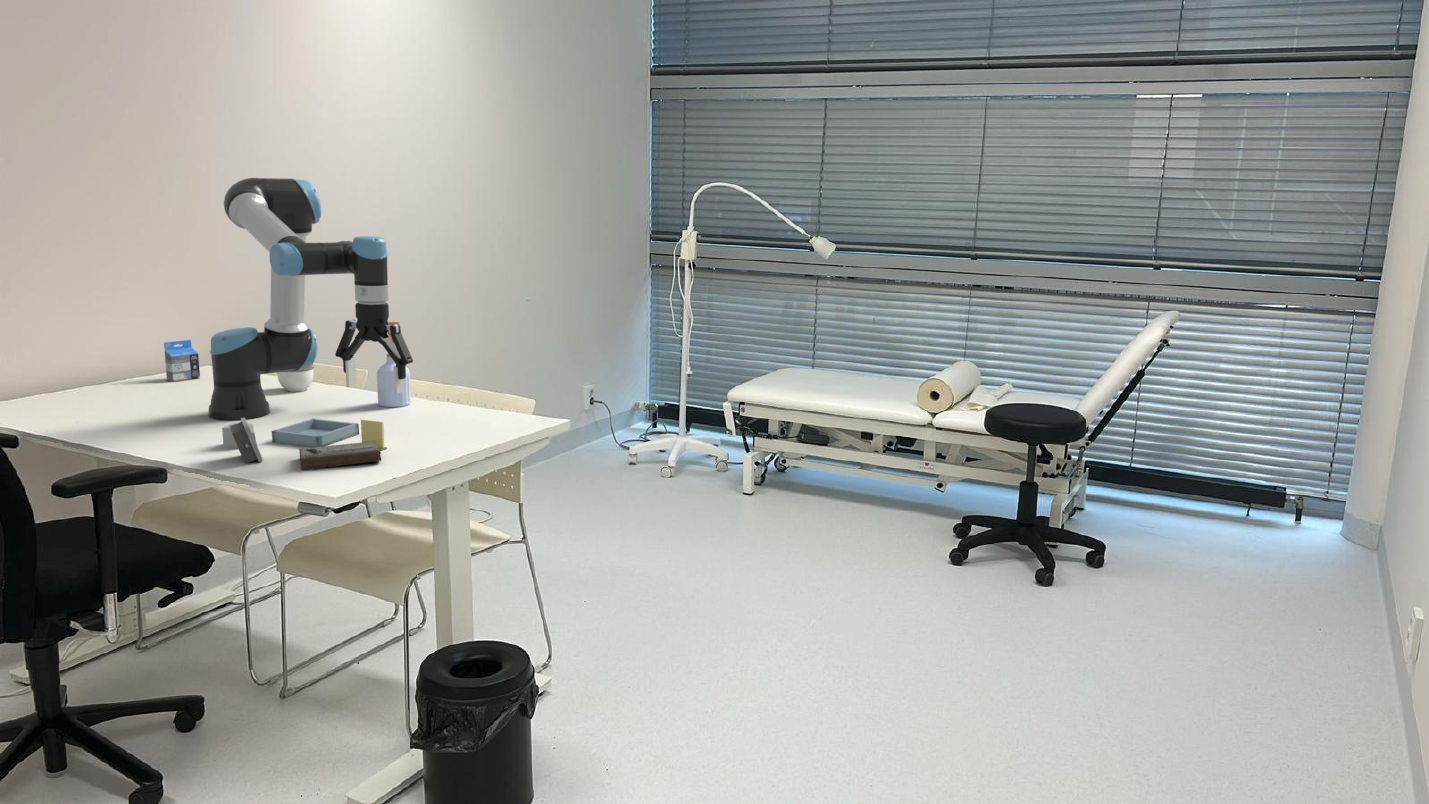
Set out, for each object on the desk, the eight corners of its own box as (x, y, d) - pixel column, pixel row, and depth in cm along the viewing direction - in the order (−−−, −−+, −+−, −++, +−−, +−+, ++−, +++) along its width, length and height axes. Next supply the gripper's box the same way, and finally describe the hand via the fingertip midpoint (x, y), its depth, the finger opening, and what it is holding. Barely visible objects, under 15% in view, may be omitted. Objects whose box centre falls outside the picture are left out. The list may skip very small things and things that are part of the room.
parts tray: (272, 442, 239) (271, 431, 238) (313, 428, 253) (313, 418, 253) (319, 447, 235) (319, 436, 235) (359, 434, 249) (358, 423, 249)
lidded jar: (270, 389, 299) (268, 360, 297) (302, 385, 307) (300, 356, 305) (290, 394, 293) (288, 364, 291) (322, 389, 301) (320, 360, 299)
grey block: (223, 447, 233) (222, 427, 232) (234, 442, 238) (233, 422, 237) (243, 448, 233) (242, 428, 232) (254, 443, 238) (253, 423, 237)
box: (381, 463, 223) (381, 450, 223) (300, 471, 216) (299, 458, 216) (377, 452, 233) (376, 440, 232) (300, 460, 226) (298, 447, 225)
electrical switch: (263, 463, 221) (256, 424, 219) (238, 467, 219) (231, 428, 217) (259, 453, 229) (252, 415, 227) (235, 457, 227) (228, 419, 225)
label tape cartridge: (173, 382, 305) (169, 343, 303) (166, 380, 307) (162, 342, 305) (200, 378, 313) (197, 340, 310) (194, 376, 315) (190, 339, 312)
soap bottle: (381, 408, 278) (377, 324, 273) (376, 402, 286) (372, 320, 281) (413, 406, 282) (410, 323, 277) (407, 400, 290) (404, 319, 285)
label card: (359, 448, 236) (358, 420, 234) (365, 446, 238) (364, 418, 236) (380, 451, 234) (379, 423, 232) (386, 448, 236) (385, 420, 235)
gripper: (317, 299, 230) (321, 386, 235) (407, 308, 223) (410, 397, 228) (338, 296, 237) (341, 381, 242) (426, 304, 230) (428, 391, 235)
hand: (375, 389), depth 235 cm, fingers open, 13 cm apart
